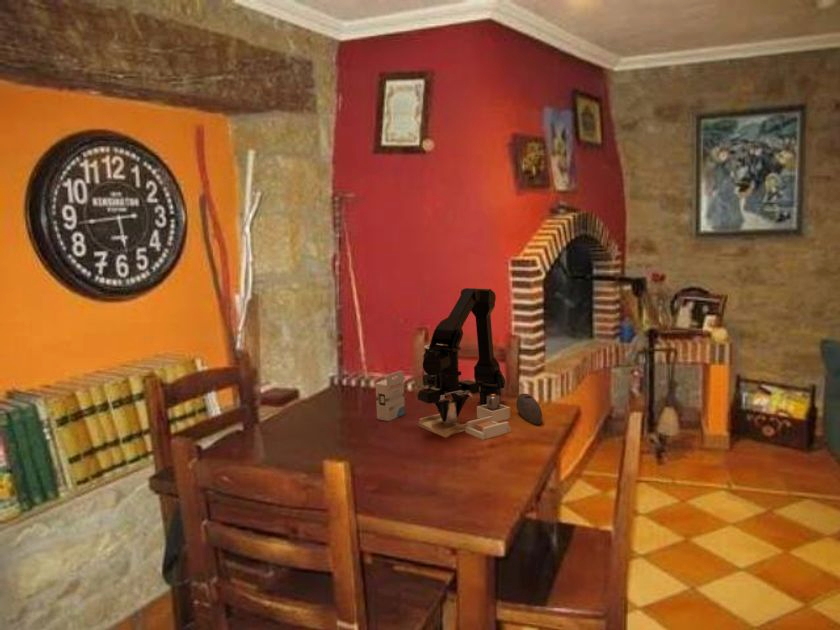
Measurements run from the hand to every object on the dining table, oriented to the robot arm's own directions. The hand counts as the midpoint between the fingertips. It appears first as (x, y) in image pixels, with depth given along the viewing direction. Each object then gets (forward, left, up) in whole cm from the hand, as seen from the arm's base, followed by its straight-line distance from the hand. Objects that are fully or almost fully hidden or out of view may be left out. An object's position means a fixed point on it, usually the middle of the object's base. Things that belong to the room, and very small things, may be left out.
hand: (449, 419), depth 191 cm
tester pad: (-7, +9, -4) cm, 12 cm away
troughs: (0, -3, -4) cm, 5 cm away
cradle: (-7, +9, -4) cm, 12 cm away
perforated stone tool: (-25, +8, -4) cm, 27 cm away
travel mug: (-19, -33, -4) cm, 38 cm away
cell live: (0, 0, -2) cm, 2 cm away
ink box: (+6, -23, -4) cm, 24 cm away
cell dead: (-17, 0, -3) cm, 17 cm away
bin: (-17, 0, -4) cm, 17 cm away
